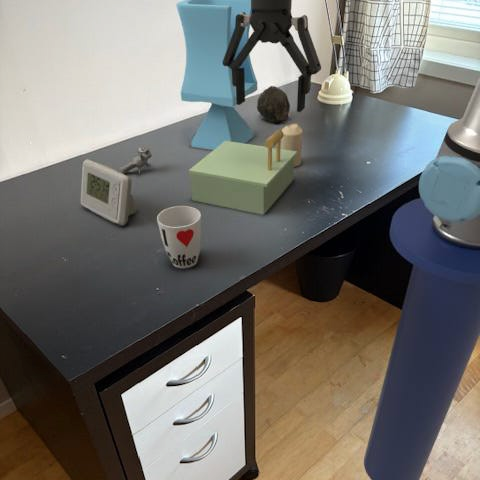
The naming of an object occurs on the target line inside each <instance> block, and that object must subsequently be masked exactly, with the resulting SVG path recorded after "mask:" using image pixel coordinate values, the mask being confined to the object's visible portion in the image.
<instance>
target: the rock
mask: <svg viewBox="0 0 480 480" xmlns="http://www.w3.org/2000/svg"><path fill="white" fill-rule="evenodd" d="M290 108H291V104H290V101H289V98H288V95H287V94H286V92H285V91H284V90H283V89H281V88H279V87H277V86H274V85H270V86H269V87H268V88H266V89H264V90H263V91H262V93H260V95H259V97H258V98H257V104H256V110H257V112H259V115H260V116H262V117H263V118H264V119H265V120H267V121H269V122H272V123H280V122H284V121H286V120H287V119H288V118H289V113H290V110H291V109H290Z"/></svg>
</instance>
